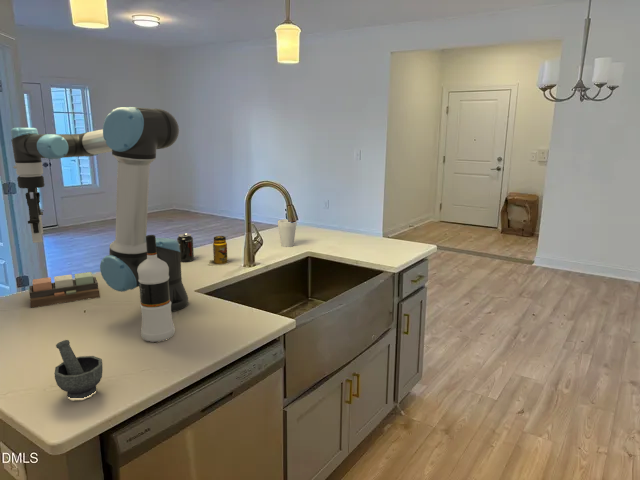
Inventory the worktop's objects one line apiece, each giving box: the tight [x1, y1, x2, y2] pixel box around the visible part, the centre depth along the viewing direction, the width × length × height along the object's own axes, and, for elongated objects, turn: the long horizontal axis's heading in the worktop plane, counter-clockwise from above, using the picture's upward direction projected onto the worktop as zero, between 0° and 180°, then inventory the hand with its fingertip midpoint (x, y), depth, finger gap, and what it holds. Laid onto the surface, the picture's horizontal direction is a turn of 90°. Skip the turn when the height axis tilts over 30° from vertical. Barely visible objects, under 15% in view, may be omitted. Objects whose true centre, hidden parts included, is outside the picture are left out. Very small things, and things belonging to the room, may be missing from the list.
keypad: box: [28, 276, 101, 309], centre depth 167 cm, size 13×21×4 cm, turn 120°
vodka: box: [137, 234, 176, 343], centre depth 133 cm, size 9×9×30 cm
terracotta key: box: [32, 276, 53, 292], centre depth 163 cm, size 6×6×3 cm
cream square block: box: [53, 274, 74, 289], centre depth 166 cm, size 6×6×3 cm
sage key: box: [74, 271, 94, 286], centre depth 169 cm, size 6×6×3 cm
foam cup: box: [277, 218, 297, 248], centre depth 241 cm, size 10×9×13 cm
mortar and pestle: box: [54, 339, 104, 398], centre depth 105 cm, size 11×9×12 cm
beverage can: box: [176, 233, 195, 263], centre depth 212 cm, size 7×7×12 cm
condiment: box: [208, 235, 229, 266], centre depth 209 cm, size 7×8×12 cm
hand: (38, 238), depth 160 cm, fingers open, 13 cm apart
